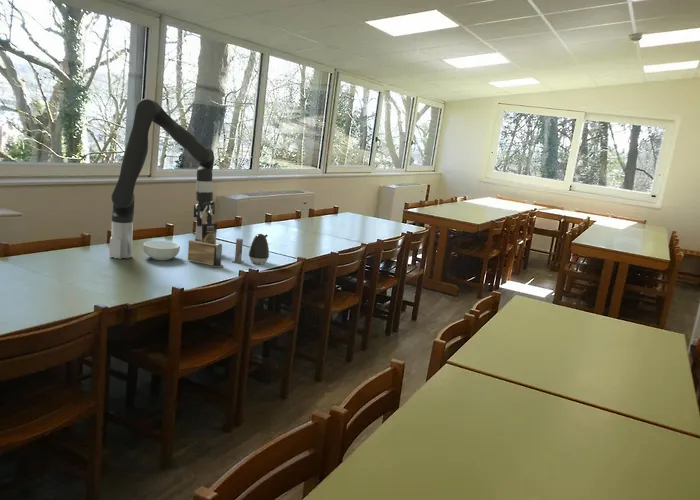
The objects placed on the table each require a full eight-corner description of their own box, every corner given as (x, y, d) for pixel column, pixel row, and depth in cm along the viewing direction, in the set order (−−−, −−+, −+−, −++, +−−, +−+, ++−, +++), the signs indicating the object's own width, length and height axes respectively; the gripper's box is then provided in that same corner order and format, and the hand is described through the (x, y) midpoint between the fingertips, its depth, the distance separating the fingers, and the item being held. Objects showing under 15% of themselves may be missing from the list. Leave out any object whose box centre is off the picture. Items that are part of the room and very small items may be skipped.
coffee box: (201, 254, 278) (203, 224, 275) (193, 251, 282) (195, 221, 279) (215, 252, 286) (217, 223, 282) (208, 250, 289) (209, 220, 286)
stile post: (239, 263, 270) (241, 240, 267) (231, 262, 271) (233, 238, 269) (243, 262, 274) (245, 239, 272) (236, 260, 275) (237, 237, 273)
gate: (213, 265, 260) (214, 245, 258) (187, 260, 263) (188, 240, 261) (215, 264, 262) (217, 245, 259) (189, 259, 265) (190, 240, 263)
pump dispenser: (272, 263, 278) (275, 234, 275) (259, 266, 269) (261, 236, 266) (257, 259, 283) (259, 230, 280) (244, 262, 274) (246, 232, 271)
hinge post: (219, 268, 257) (221, 246, 255) (210, 266, 258) (211, 244, 256) (224, 266, 262) (226, 244, 260) (215, 264, 263) (217, 242, 261)
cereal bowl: (167, 264, 253) (168, 250, 251) (135, 259, 256) (136, 244, 254) (185, 257, 269) (186, 243, 268) (155, 252, 272) (156, 238, 271)
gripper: (205, 188, 259) (205, 222, 262) (188, 191, 245) (188, 226, 249) (219, 190, 257) (219, 223, 260) (203, 192, 243) (203, 227, 246)
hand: (204, 224), depth 254 cm, fingers open, 8 cm apart
